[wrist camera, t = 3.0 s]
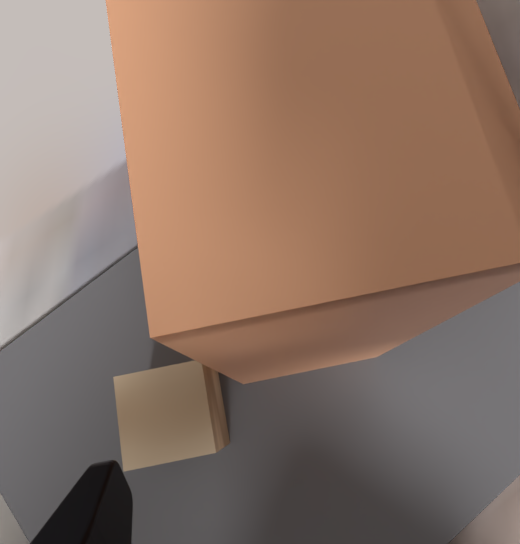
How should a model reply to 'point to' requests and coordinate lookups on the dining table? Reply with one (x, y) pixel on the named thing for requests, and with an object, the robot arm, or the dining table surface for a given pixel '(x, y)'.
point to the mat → (272, 430)
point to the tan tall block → (314, 174)
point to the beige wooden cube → (169, 414)
